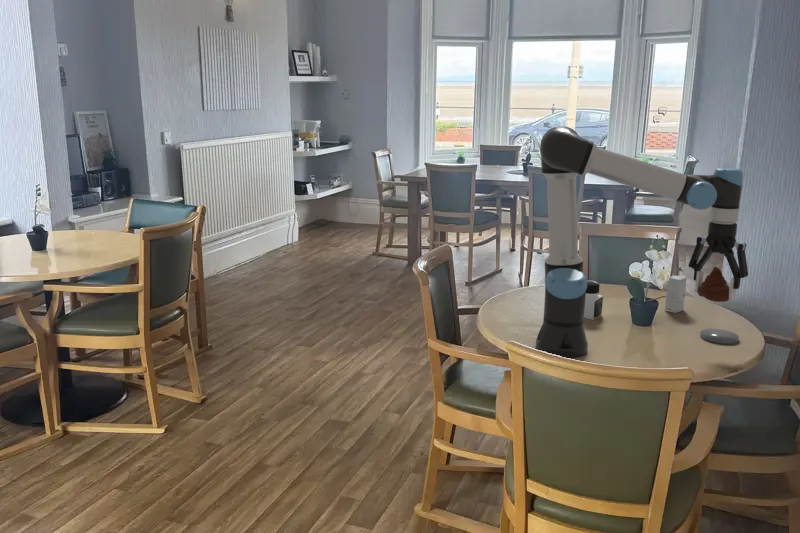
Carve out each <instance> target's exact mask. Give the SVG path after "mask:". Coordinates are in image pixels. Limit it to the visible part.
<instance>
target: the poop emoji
mask: <svg viewBox="0 0 800 533" xmlns="http://www.w3.org/2000/svg"><path fill="white" fill-rule="evenodd" d="M712 268H713V269H712V271H711V272H710V273H709V274H708V275H706V277H705V278H704V280H703V282H702V286H701V287H700V288H699V289H698V292H697V294H698V296H699V297H702V298H705V299H706V300H708V301H712V302H716V303H724V302H728V301H729V300H728V299H729V289H730V281H731V280H730V281H729V280H726V278H725V277H724V275H723V272H722V270H721V269H720V268H719V267H717V266H713V267H712Z"/></svg>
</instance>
